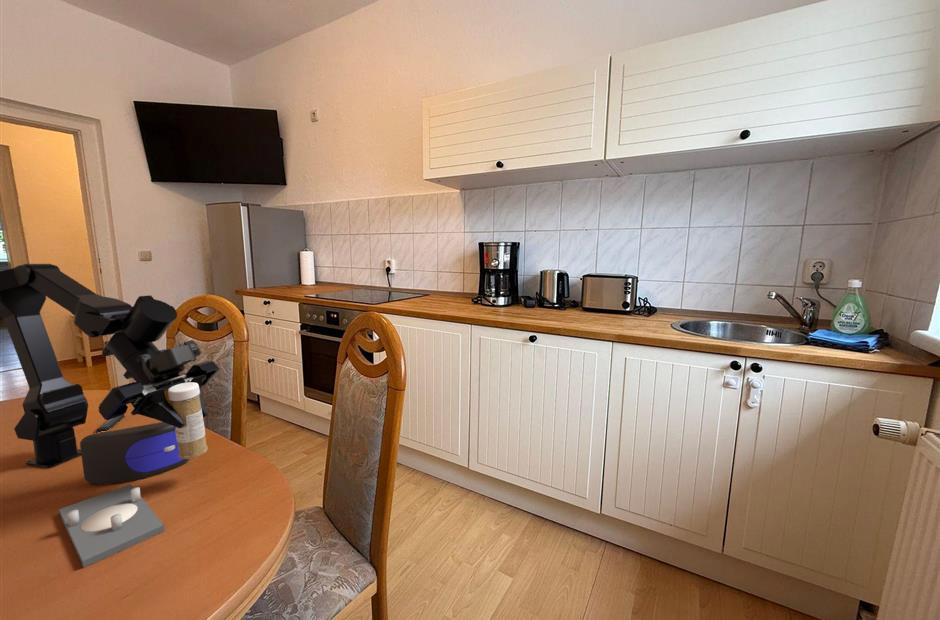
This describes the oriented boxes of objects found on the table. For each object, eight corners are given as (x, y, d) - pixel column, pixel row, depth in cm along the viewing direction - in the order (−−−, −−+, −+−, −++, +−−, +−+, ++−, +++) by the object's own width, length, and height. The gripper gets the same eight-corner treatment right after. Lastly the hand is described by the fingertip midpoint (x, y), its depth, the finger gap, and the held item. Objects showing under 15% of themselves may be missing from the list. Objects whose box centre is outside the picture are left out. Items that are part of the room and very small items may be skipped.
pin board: (59, 514, 63) (57, 497, 62) (131, 489, 70) (129, 473, 70) (83, 567, 52) (80, 547, 52) (164, 530, 60) (162, 513, 59)
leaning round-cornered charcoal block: (79, 494, 68) (73, 444, 67) (86, 482, 72) (80, 434, 71) (191, 468, 77) (188, 423, 76) (192, 458, 81) (189, 415, 80)
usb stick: (113, 419, 101) (112, 413, 100) (125, 418, 102) (125, 412, 101) (94, 434, 92) (93, 428, 92) (108, 433, 93) (108, 427, 93)
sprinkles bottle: (174, 456, 71) (162, 388, 69) (200, 444, 75) (190, 379, 73) (187, 463, 69) (175, 393, 67) (213, 450, 73) (203, 384, 70)
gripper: (104, 340, 60) (166, 415, 59) (208, 321, 78) (257, 378, 78) (72, 383, 63) (131, 455, 62) (180, 356, 81) (227, 411, 80)
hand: (194, 421), depth 70 cm, fingers closed on sprinkles bottle, 4 cm apart
